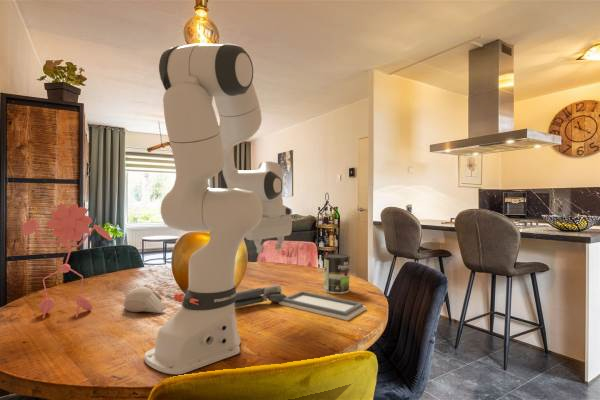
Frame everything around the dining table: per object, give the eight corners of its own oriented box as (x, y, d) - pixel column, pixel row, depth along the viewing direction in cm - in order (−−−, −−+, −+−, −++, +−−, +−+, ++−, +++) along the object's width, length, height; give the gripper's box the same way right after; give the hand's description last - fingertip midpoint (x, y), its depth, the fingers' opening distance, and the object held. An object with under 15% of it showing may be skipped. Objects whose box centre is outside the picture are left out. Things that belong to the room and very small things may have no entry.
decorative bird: (139, 304, 116) (141, 282, 116) (169, 313, 107) (171, 289, 108) (114, 309, 108) (116, 285, 109) (144, 319, 100) (146, 293, 100)
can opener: (279, 296, 123) (279, 282, 123) (288, 301, 117) (288, 287, 117) (230, 305, 112) (230, 290, 112) (237, 311, 107) (237, 295, 107)
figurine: (105, 318, 102) (106, 203, 102) (9, 323, 97) (9, 203, 97) (122, 303, 117) (123, 203, 117) (39, 307, 112) (40, 203, 112)
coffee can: (354, 291, 134) (354, 255, 134) (337, 295, 127) (337, 258, 127) (335, 286, 142) (336, 252, 142) (318, 290, 135) (318, 255, 135)
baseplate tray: (347, 320, 101) (347, 314, 101) (278, 304, 116) (278, 298, 116) (366, 309, 111) (366, 303, 111) (300, 295, 127) (300, 290, 127)
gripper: (255, 211, 103) (255, 256, 103) (294, 209, 119) (294, 248, 119) (240, 210, 107) (240, 254, 107) (281, 209, 123) (281, 246, 123)
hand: (269, 251), depth 113 cm, fingers open, 8 cm apart
